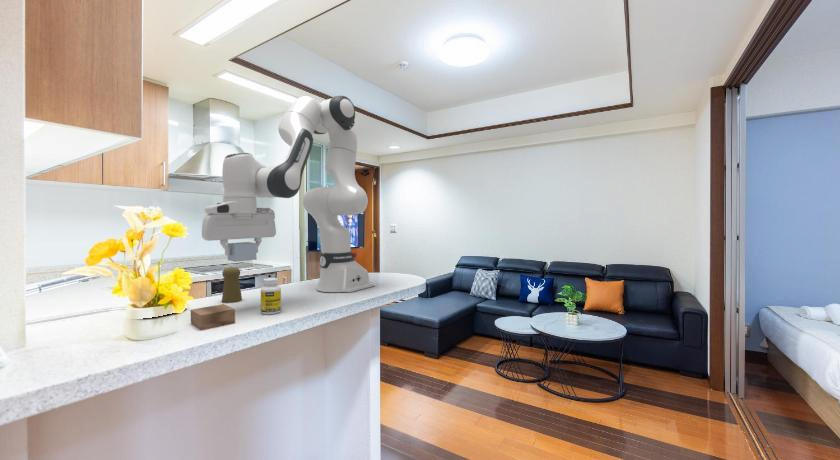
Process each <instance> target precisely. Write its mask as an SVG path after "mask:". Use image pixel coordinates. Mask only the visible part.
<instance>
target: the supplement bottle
mask: <svg viewBox="0 0 840 460" xmlns="http://www.w3.org/2000/svg"><path fill="white" fill-rule="evenodd" d="M262 283H263V284H262V285H263V286H262V287H261V288H260V313H261V314H262V315H269V316H270V315H275V314H279V313H280V312H281V311H282V297H281V296H282V291H281V289H282V288H281V286H280V285H278V284H279V278H277V277H267V278H263V279H262Z"/></svg>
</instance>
